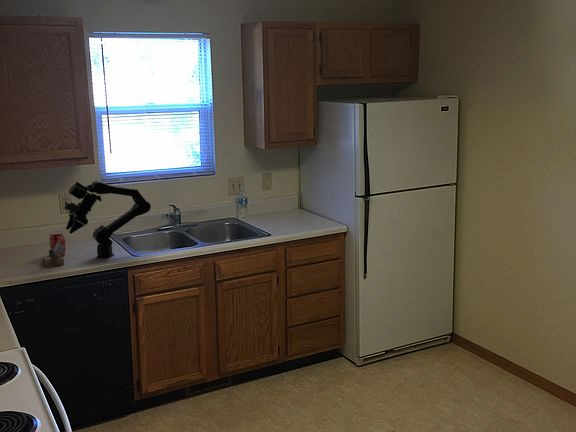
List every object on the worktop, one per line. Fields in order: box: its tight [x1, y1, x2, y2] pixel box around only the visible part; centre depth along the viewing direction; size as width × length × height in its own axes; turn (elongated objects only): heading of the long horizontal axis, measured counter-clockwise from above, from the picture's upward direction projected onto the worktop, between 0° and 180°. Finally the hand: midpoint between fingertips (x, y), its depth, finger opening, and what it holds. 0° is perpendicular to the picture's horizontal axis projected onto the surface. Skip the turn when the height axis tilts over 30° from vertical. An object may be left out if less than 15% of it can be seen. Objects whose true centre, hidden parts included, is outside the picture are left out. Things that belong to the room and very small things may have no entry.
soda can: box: [49, 230, 67, 257], centre depth 322 cm, size 7×7×12 cm
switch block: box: [42, 249, 65, 268], centre depth 309 cm, size 8×10×6 cm
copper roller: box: [52, 237, 66, 256], centre depth 309 cm, size 2×6×10 cm, turn 30°
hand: (68, 231), depth 310 cm, fingers open, 9 cm apart
